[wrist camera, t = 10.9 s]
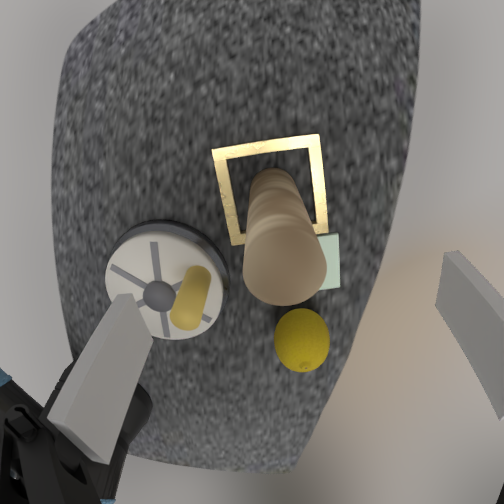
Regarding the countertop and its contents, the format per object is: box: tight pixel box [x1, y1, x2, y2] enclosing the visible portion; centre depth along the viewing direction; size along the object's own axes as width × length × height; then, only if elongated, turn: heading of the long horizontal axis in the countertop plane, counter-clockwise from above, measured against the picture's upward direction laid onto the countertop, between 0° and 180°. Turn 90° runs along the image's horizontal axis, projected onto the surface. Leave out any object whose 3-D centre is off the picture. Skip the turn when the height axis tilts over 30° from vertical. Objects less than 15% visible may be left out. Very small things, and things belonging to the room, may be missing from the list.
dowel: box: [243, 168, 327, 306], centre depth 21 cm, size 4×4×14 cm
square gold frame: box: [212, 133, 328, 246], centre depth 27 cm, size 9×9×1 cm
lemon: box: [274, 308, 330, 372], centre depth 30 cm, size 6×6×8 cm
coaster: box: [317, 233, 340, 290], centre depth 30 cm, size 6×6×1 cm
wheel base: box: [108, 220, 230, 316], centre depth 31 cm, size 13×13×1 cm
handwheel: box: [105, 231, 223, 340], centre depth 27 cm, size 12×12×8 cm
